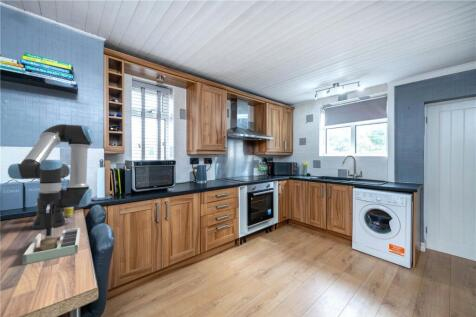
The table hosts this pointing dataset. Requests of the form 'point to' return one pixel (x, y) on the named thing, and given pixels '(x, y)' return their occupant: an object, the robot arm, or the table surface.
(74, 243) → the box
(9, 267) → the table surface
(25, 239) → the table surface
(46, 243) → the brown rounded cylinder
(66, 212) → the supplement bottle
